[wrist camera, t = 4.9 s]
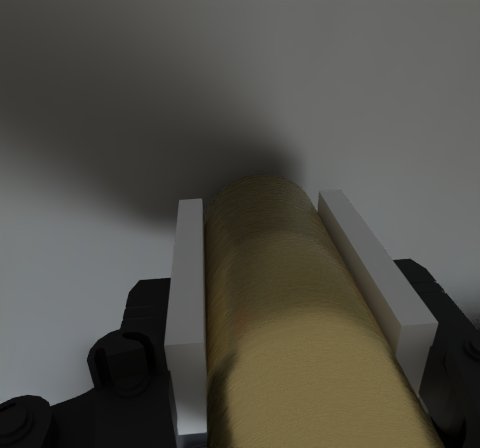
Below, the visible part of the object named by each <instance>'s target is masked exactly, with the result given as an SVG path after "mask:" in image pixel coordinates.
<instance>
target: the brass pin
mask: <svg viewBox="0 0 480 448" xmlns="http://www.w3.org/2000/svg"><path fill="white" fill-rule="evenodd" d="M204 238H205V292H206V346H207V382H206V416H207V448H445V446H444V445H443V443H442V441H441V439H440V437H439V435H438V434H437V432H436V430H435V428H434V426H433V424H432V423H431V421H430V419H429V417H428V415H427V413H426V412H425V410H424V408H423V406H422V404H421V402H420V401H419V399H418V397H417V395H416V393H415V391H414V389H413V388H412V386H411V384H410V382H409V380H408V378H407V377H406V375H405V373H404V371H403V369H402V367H401V366H400V364H399V362H398V360H397V358H396V356H395V355H394V353H393V351H392V349H391V347H390V345H389V344H388V342H387V340H386V338H385V336H384V334H383V332H382V331H381V329H380V327H379V325H378V323H377V321H376V320H375V318H374V316H373V314H372V312H371V310H370V309H369V307H368V305H367V303H366V301H365V299H364V298H363V296H362V294H361V292H360V290H359V288H358V287H357V285H356V283H355V281H354V279H353V277H352V275H351V274H350V272H349V270H348V268H347V266H346V264H345V263H344V261H343V259H342V257H341V255H340V253H339V252H338V250H337V248H336V246H335V244H334V242H333V241H332V239H331V237H330V235H329V233H328V231H327V230H326V228H325V226H324V224H323V222H322V220H321V218H320V217H319V215H318V213H317V211H316V209H315V207H314V206H313V204H312V202H311V200H310V198H309V197H308V195H307V194H306V193H305V192H304V191H303V190H302V189H301V188H300V187H299V186H298V185H296V184H295V183H293V182H291V181H290V180H287V179H285V178H282V177H279V176H275V175H253V176H248V177H244V178H241V179H239V180H236V181H235V182H233V183H231V184H229V185H228V186H226V187H225V188H223V189H222V190H221V191H220V192H219V193H218V194H217V195H216V196H215V198H214V199H213V200H212V202H211V203H210V205H209V207H208V209H207V211H206V215H205V218H204Z"/></svg>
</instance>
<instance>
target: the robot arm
mask: <svg viewBox="0 0 480 448" xmlns="http://www.w3.org/2000/svg"><path fill="white" fill-rule="evenodd" d="M318 215H319V217H320V218H321V220H322V222H323V224H324V226H325V228H326V230H327V231H328V233H329V235H330V237H331V239H332V241H333V242H334V244H335V246H336V248H337V250H338V252H339V253H340V255H341V257H342V259H343V261H344V263H345V264H346V266H347V268H348V270H349V272H350V274H351V275H352V277H353V279H354V281H355V283H356V285H357V287H358V288H359V290H360V292H361V294H362V296H363V298H364V299H365V301H366V303H367V305H368V307H369V309H370V310H371V312H372V314H373V316H374V318H375V320H376V321H377V323H378V325H379V327H380V329H381V331H382V332H383V334H384V336H385V338H386V340H387V342H388V344H389V345H390V347H391V349H392V351H393V353H394V355H395V356H396V358H397V360H398V362H399V364H400V366H401V367H402V369H403V371H404V373H405V375H406V377H407V378H408V380H409V382H410V384H411V386H412V388H413V389H414V391H415V393H416V395H417V397H418V399H419V395H420V397H421V398H422V400H423V402H424V404H425V406H426V407H427V409H428V417H429V419H430V421H431V423H432V424H433V426H434V428H435V430H436V432H437V434H438V435H439V437H440V439H441V441H442V443H443V445H444V446H445V448H480V330H478V329H476V328H475V327H474V326H473V325H472V323H471V322H470V321H469V320H468V319H467V317H466V316H465V315H464V314H463V313H462V311H461V310H460V309H459V308H458V307H457V305H456V304H455V303H454V302H453V301H452V299H451V298H450V297H449V296H448V295H447V293H446V294H445V292H444V290H443V288H442V287H441V286H440V285H439V284H438V283H436V280H435V279H434V278H433V276H432V275H431V274H430V273H429V272H428V270H427V269H426V268H424V267H422V266H421V265H419V264H418V263H416V262H415V261H413V260H411V259H401V260H392V259H391V257H390V256H389V254H388V253H387V252H386V250H385V249H384V248H383V246H382V245H381V244H380V242H379V241H378V239H377V238H376V237H375V235H374V234H373V233H372V231H371V230H370V229H369V227H368V226H367V224H366V223H365V222H364V220H363V219H362V218H361V216H360V215H359V213H358V212H357V211H356V209H355V208H354V207H353V205H352V204H351V203H350V201H349V200H348V198H347V197H346V196H345V194H344V193H343V192H342V190H328V191H319V199H318ZM87 363H88V366H89V370H90V373H91V377H92V380H93V384H94V388H92V389H91V390H89V391H88V392H86V393H84V394H82V395H80V396H77V397H75V398H72V399H70V400H67V401H64V402H61V403H58V404H56V405H53V406H50V404H49V402H48V401H46V400H45V399H43V398H42V397H40V396H33V395H25V396H20V397H15V398H12V399H10V400H8V401H6V402H3V403H1V404H0V448H177V444H176V437H177V428H178V435H184V434H195V433H205V432H207V416H206V382H207V346H206V292H205V238H204V216H203V204H202V199H186V200H179V206H178V216H177V226H176V235H175V245H174V255H173V264H172V274H171V278H161V279H148V280H139V281H138V283H137V284H136V285H135V286H134V287H133V288H132V290H131V291H130V292H129V294H128V299H127V303H126V309H125V311H124V315H123V321H122V324H121V328H120V329H119V330H116V331H113V332H110V333H108V334H107V335H105V336H104V337H102V338H101V339H99V340H98V341H97V342H96V343H95V344H94V346H93V347H92V348H91V349H90V351H89V355H88V358H87Z"/></svg>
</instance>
